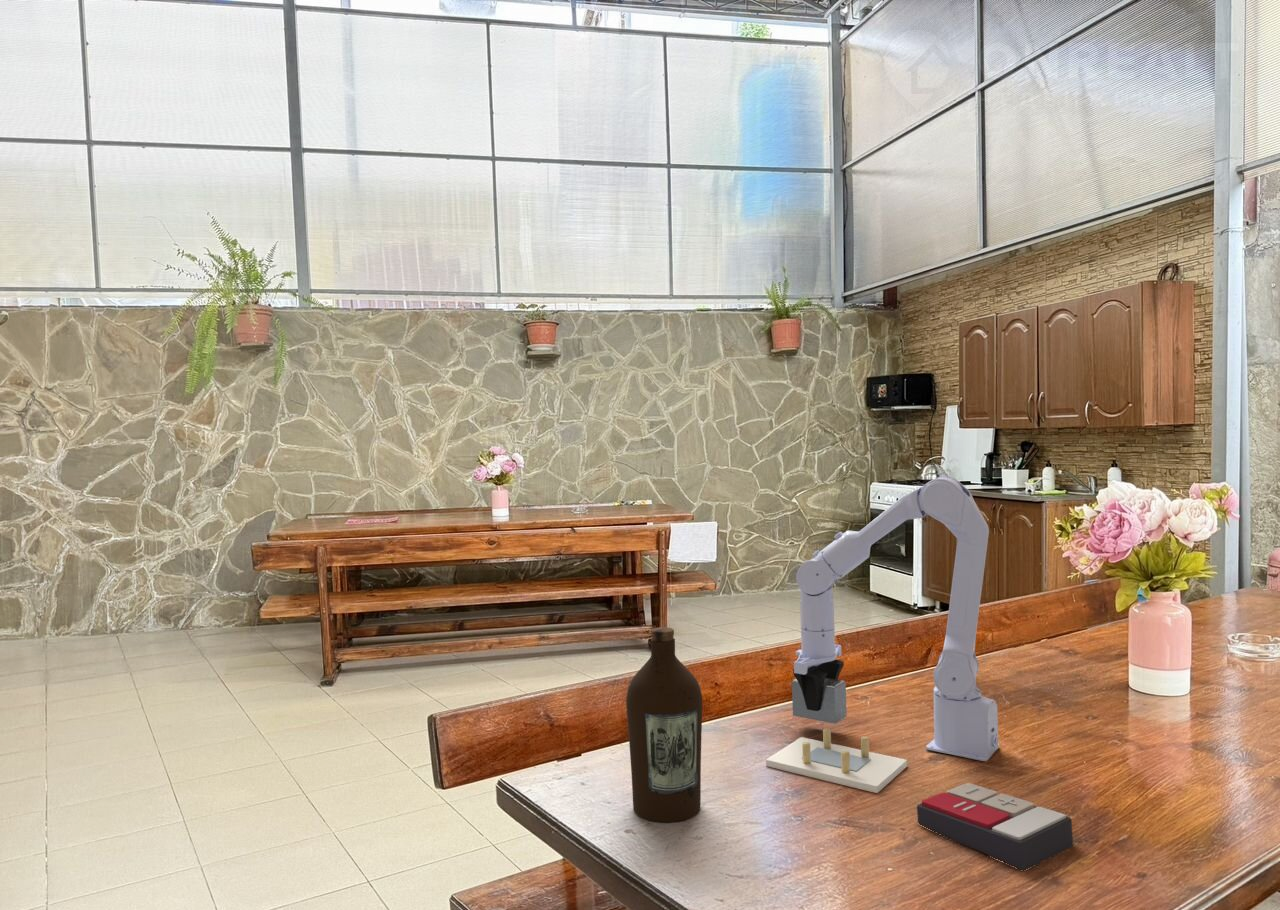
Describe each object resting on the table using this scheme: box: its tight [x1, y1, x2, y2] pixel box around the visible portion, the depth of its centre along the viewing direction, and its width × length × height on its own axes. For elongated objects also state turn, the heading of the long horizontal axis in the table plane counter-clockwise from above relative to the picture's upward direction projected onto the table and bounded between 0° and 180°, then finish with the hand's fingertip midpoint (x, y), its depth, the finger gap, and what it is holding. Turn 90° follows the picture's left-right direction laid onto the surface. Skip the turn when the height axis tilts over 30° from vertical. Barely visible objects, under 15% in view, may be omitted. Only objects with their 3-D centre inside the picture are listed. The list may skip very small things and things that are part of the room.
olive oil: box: [625, 626, 703, 823], centre depth 117 cm, size 11×11×25 cm
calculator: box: [916, 782, 1074, 872], centre depth 107 cm, size 11×4×15 cm
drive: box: [791, 678, 848, 725], centre depth 146 cm, size 8×4×6 cm, turn 52°
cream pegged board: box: [765, 728, 908, 794], centre depth 130 cm, size 18×12×4 cm, turn 52°
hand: (819, 705), depth 146 cm, fingers closed on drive, 4 cm apart
